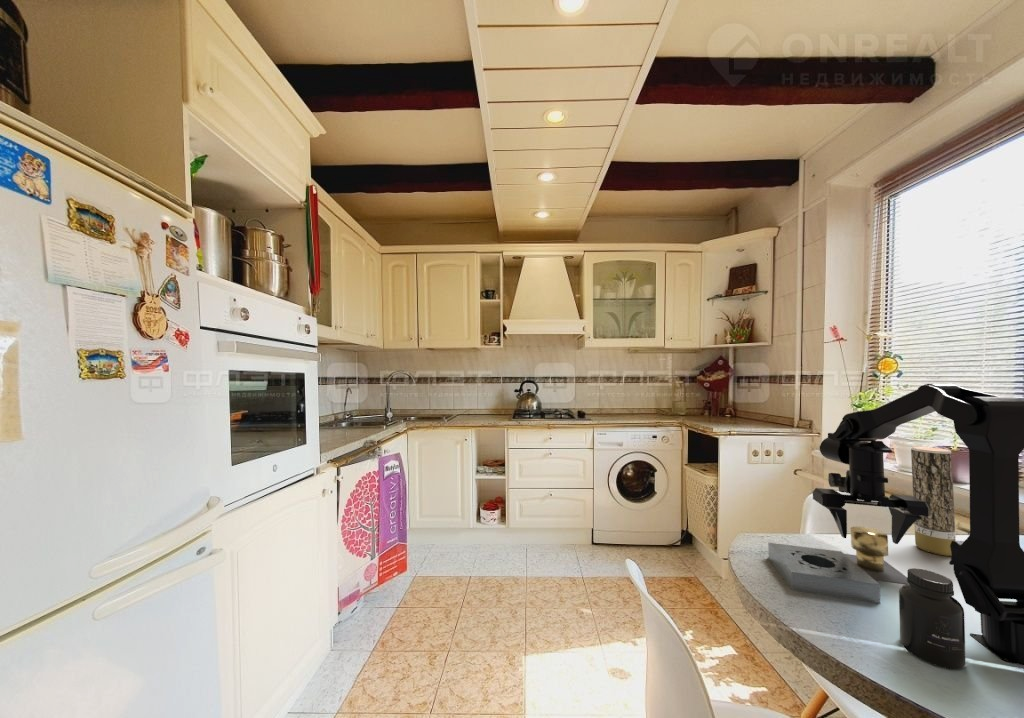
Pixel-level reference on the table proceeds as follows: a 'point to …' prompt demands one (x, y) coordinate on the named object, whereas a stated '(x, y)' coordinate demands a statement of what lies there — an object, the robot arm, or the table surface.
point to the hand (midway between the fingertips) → (869, 540)
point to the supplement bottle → (932, 620)
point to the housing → (823, 572)
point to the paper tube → (934, 498)
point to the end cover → (869, 548)
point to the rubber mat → (884, 573)
